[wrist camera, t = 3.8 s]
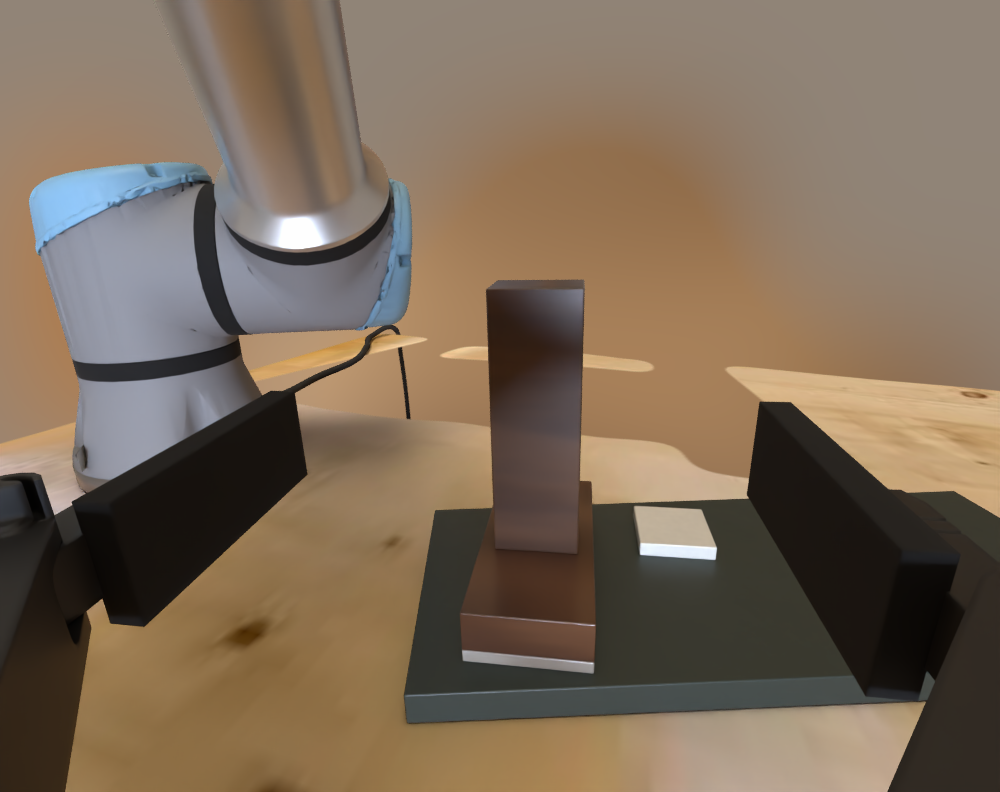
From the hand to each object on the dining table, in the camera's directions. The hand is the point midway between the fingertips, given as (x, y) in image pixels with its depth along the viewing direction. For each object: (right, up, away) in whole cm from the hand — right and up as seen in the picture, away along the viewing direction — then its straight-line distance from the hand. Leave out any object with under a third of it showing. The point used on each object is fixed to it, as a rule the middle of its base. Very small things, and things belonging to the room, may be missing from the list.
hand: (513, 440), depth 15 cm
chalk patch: (+10, -7, +16) cm, 20 cm away
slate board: (+13, -9, +13) cm, 21 cm away
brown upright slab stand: (+2, -8, +13) cm, 15 cm away
